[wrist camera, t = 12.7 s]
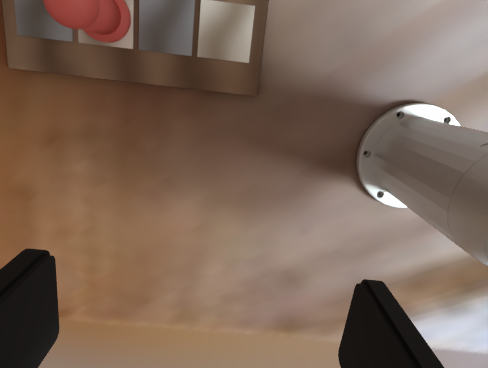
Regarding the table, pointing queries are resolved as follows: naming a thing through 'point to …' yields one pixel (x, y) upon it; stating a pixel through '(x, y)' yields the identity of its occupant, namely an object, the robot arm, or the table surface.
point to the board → (148, 44)
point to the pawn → (93, 17)
